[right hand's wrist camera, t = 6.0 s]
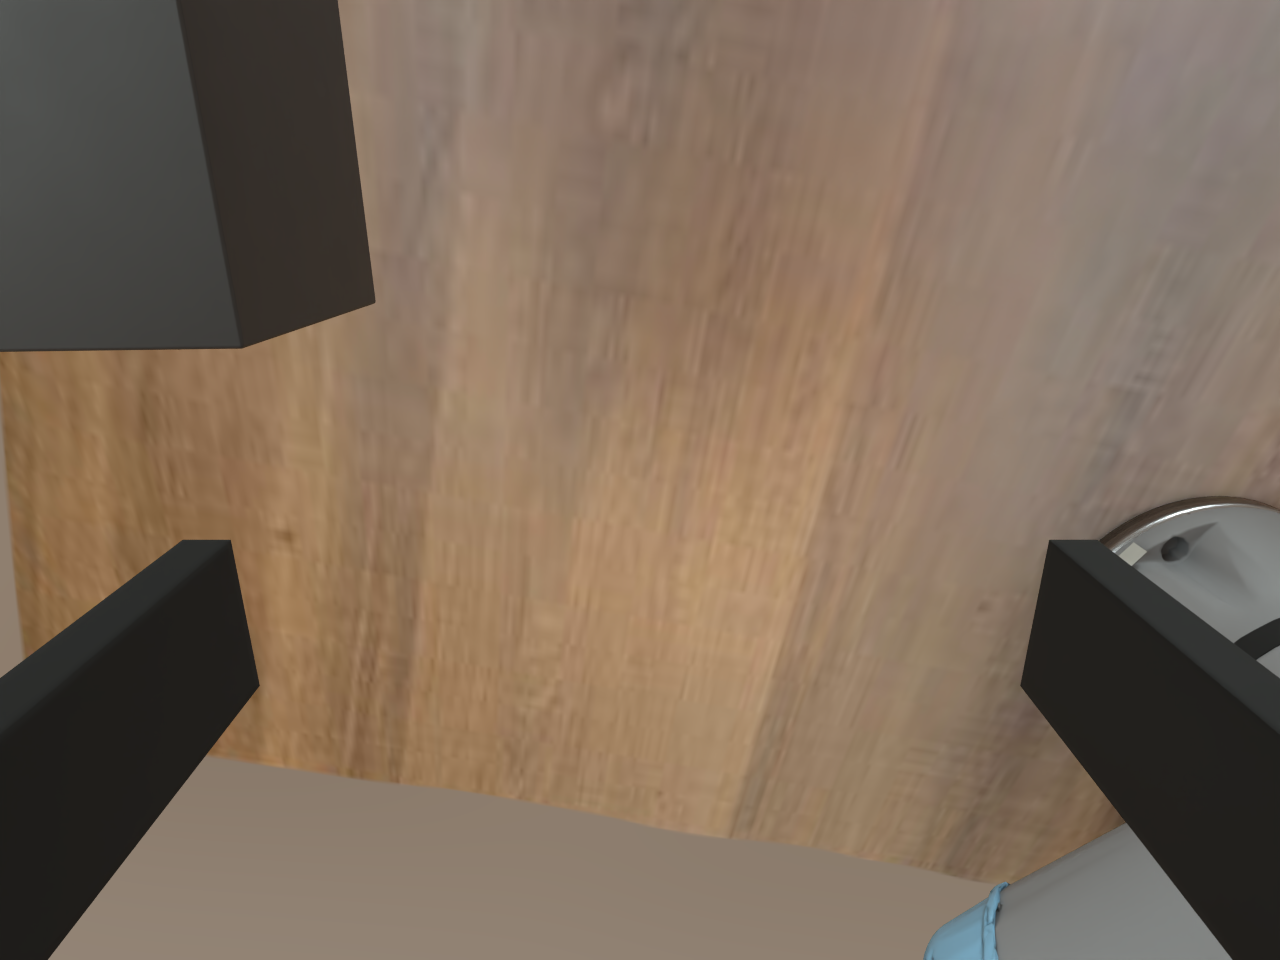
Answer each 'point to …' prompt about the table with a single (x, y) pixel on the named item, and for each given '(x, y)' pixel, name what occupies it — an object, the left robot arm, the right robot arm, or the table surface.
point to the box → (175, 174)
